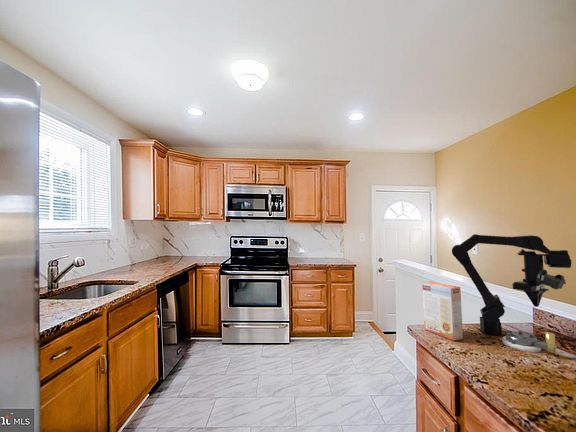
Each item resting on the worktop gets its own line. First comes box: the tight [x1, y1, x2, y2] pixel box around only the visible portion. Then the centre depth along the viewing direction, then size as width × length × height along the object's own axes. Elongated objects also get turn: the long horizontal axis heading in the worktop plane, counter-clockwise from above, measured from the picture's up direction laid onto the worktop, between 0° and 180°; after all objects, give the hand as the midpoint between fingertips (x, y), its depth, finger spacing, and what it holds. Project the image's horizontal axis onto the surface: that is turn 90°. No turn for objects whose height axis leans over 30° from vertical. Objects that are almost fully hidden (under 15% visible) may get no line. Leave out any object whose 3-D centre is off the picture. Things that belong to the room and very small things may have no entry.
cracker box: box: [422, 281, 464, 342], centre depth 115 cm, size 14×6×21 cm, turn 22°
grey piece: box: [505, 329, 557, 354], centre depth 100 cm, size 15×9×6 cm, turn 20°
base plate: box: [501, 335, 542, 353], centre depth 102 cm, size 11×11×2 cm
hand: (536, 306), depth 107 cm, fingers closed
